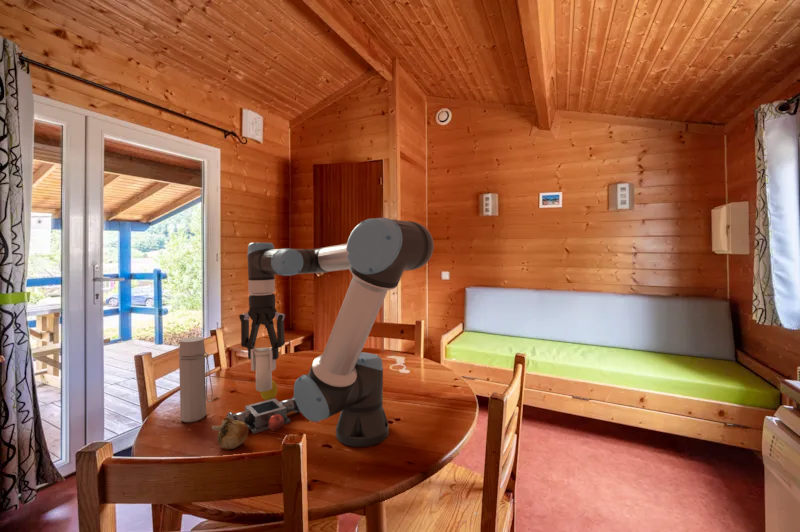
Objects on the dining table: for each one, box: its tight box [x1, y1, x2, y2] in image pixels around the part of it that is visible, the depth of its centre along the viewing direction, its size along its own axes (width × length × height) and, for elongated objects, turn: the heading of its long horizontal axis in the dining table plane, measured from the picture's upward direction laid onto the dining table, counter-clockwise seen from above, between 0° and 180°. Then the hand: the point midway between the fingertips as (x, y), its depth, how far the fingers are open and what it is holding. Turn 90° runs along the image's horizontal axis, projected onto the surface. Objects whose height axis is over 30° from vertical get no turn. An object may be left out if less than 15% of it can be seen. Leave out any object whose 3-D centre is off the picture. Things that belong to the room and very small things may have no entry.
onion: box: [211, 417, 249, 450], centre depth 98 cm, size 8×8×8 cm
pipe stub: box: [254, 347, 273, 393], centre depth 111 cm, size 5×5×12 cm
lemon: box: [259, 379, 278, 401], centre depth 127 cm, size 6×6×8 cm
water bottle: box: [177, 336, 214, 423], centre depth 114 cm, size 9×8×25 cm
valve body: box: [226, 395, 301, 435], centre depth 111 cm, size 14×21×6 cm
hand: (263, 369), depth 111 cm, fingers closed on pipe stub, 5 cm apart
